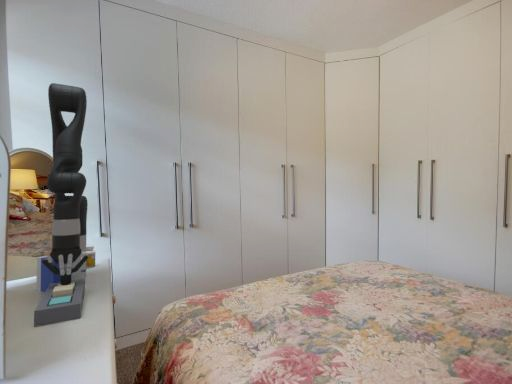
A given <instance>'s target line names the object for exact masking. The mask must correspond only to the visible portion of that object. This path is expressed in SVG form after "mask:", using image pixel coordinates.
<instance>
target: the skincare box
mask: <svg viewBox="0 0 512 384" xmlns="http://www.w3.org/2000/svg"><path fill="white" fill-rule="evenodd" d="M82 253H84V254H85V255H86V251H83V252H82ZM79 261H80V256H79V257H78V258H77V259H76V261H75V262H73V264H72V268H74V267H75V266H76V265H77V264H78V263H79ZM86 276H87V269H86V261H85V262H84V264H83V265H82V266H81V267H80V268H79V269H78V271H77V272H74V273H72V275H71V281H74V280H82V279H85V280H86Z"/></svg>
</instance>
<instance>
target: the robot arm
mask: <svg viewBox="0 0 512 384" xmlns="http://www.w3.org/2000/svg"><path fill="white" fill-rule="evenodd" d="M47 91H48V104H49V105H48V107H49V112H50V113H49V114H50V115H49V116H50V120H51V121H50V122H51V123H50V124H51V131H52V132H51V133H52V135H51V136H52V163H53V165H52V166H51V167H52V168H51V170H50V171H49V174H48V177H47V179H46V187H47V189H48V191H49V192H50V193H53V194H54V204H53V222H52V229H51V234H52V235H51V251H50V253H49V255H47V256H48V257H47V258H45V259H43V261H42V263H43V264H44V265H45V266H46V267H47V268H48V269H49V270H50V271H51V272H52V273H54V274H59V275H60V276H61V281H60V284H61V285H63V286H64V285H69V284H70V283H71V275H72V273H74V272H77V271H78V269H79V268H80V267H81V266H82V265H83V264H84V262H85V261H86V260H87V259H88V255H85V254H84V253H82V252H83V251H86V246H87V221H88V219H87V218H88V216H87V215H88V199H87V196H85V195H83V194H84V192H85V188H86V186H87V178H86V176H85V175H84V174H83V173H81V172H80V170H81V169H82V166H83V163H84V162H83V148H82V137H83V131H84V127H85V121H86V114H87V106H88V105H87V103H88V102H87V100H88V99H87V93H86V91H85V89H84V88H82V87H79V86H75V85H70V84H69V85H68V84H62V83H61V84H60V83H56V82H55V83H54V82H53V83H50V84H49V86H48V89H47ZM62 112H63V113H72V114H74V116H73V118H72V120H71V121H70V123H69V124H68V125H67V124H66V122H65V120H64V118H63V114H62ZM66 194H73V195H66ZM79 256H80V261H79V263H78V264H77V265H76V266H75V267H74V268H72V264H73V262H75V261H76V259H77V258H78V257H79ZM52 259H53V260H54V261H55V262H56V263H57V264H59V268H60V269H58V268H57V267H56V266H55V265H54V264H53V263H51V262H52Z"/></svg>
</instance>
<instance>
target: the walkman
mask: <svg viewBox="0 0 512 384" xmlns="http://www.w3.org/2000/svg"><path fill="white" fill-rule="evenodd" d="M48 256H49V255H42V256H37V257H36V284H35V285H36V287H35V288H36V291H38V292H42V293H43V292H44V293H45V291H46V289H47V287H48V286H49V284H51V283H59V282H60V281H61V276H60V275H59V274H54V273H52V272H51V271H50V270H49V269H48V268H47V267H46V266H45V265H44V264H43V263H42V261H43V259H45V258H47V257H48ZM51 263H53V264H54V265H55V266H56V267H57V268H58V269H60V268H59V264H57V263H56V262H55V261H54V260H53V259H52V262H51Z"/></svg>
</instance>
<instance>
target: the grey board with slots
mask: <svg viewBox="0 0 512 384" xmlns="http://www.w3.org/2000/svg"><path fill="white" fill-rule="evenodd" d="M72 282H75V287H74V294H70V295H64V296H57V297H53V290H54V288H55V287H56V286H58V284H60V282H59V283H51V284H49V286H48V287H47V289H46V291H45V292H44V293H43V294H42V297H41V298H40V300H39V302H38V303H37V305H36V307H35V309H34V311H33V312H34V314H33V317H34V318H33V327H40V326H45V325H50V324H56V323H60V322H66V321H71V320H76V319H77V320H78V319H81V316H82V308H83V303H84V298H85V291H86V289H85V287H86V278H85V279H82V280H74V281H71V283H72ZM66 296H72V301H71V302H70V303H64V304H58V305H51V306H49V303H50V301H51V299H53V298H59V297H66Z"/></svg>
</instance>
